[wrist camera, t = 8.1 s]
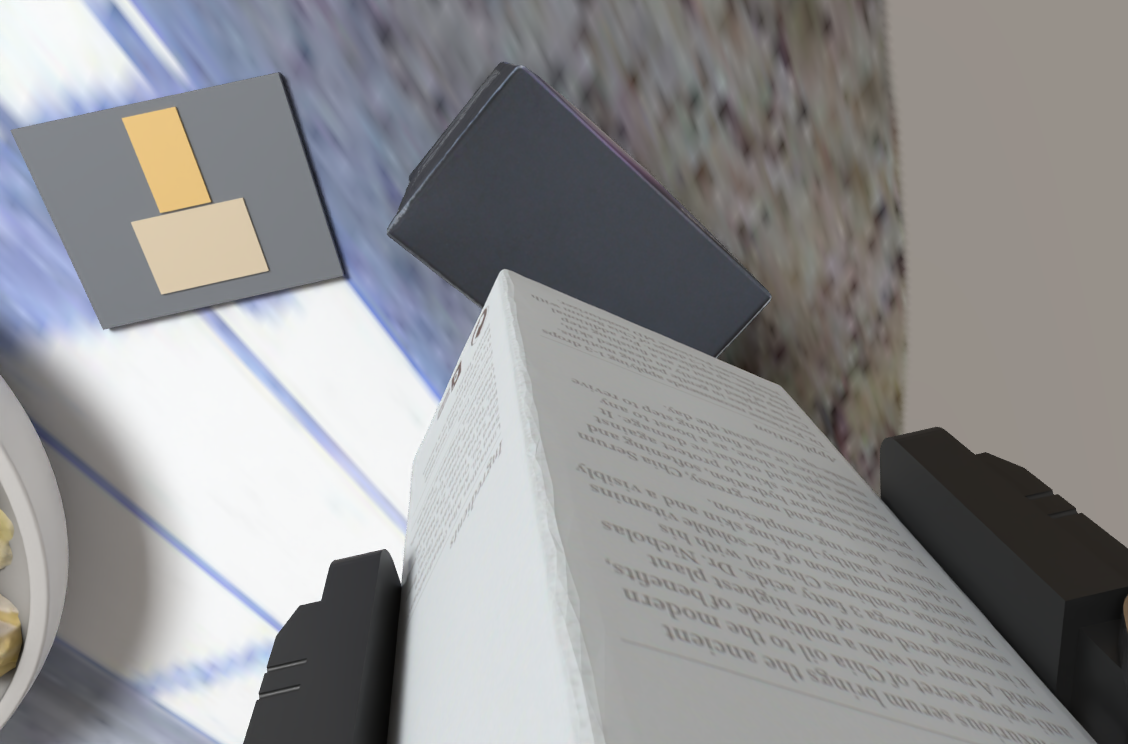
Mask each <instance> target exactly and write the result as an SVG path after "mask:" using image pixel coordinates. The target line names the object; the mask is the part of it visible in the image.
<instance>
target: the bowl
mask: <svg viewBox="0 0 1128 744" xmlns="http://www.w3.org/2000/svg"><path fill="white" fill-rule="evenodd" d="M68 565H69V555H68V536H67V527H66V519H65V514H64V509H63V504H62V499H61V495H60V492H59V488H58V485H57V481H56V478H55V475H54V472H53V470H52V467H51V464H50V461H49V459H48V456H47V454H46V452H45V449H44V447H43V445H42V442H41V440H40V438H39V436H38V434H37V432H36V430H35V428H34V426H33V425H32V423H31V421H30V419H29V417H28V415H27V414H26V412H25V410H24V409H23V407H22V406H21V404H20V402H19V401H18V399H17V397H16V396H15V395H14V393H13V392H12V390H11V389H10V387H9V386H8V384H7V383H6V382H5V380H4V379H3V377H2V376H1V375H0V730H1V729H2V728H3V727H4V725H5V724H6V723H7V722H8V720H9V719H10V718H11V717H12V715H13V714H14V712H15V711H16V709H17V708H18V706H19V705H20V703H21V702H22V700H23V699H24V697H25V696H26V694H27V693H28V691H29V690H30V688H31V687H32V685H33V683H34V682H35V680H36V678H37V676H38V674H39V673H40V671H41V669H42V667H43V665H44V663H45V661H46V658H47V656H48V654H49V652H50V649H51V647H52V645H53V642H54V639H55V636H56V633H57V630H58V627H59V624H60V620H61V616H62V612H63V607H64V603H65V596H66V589H67V581H68Z"/></svg>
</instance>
